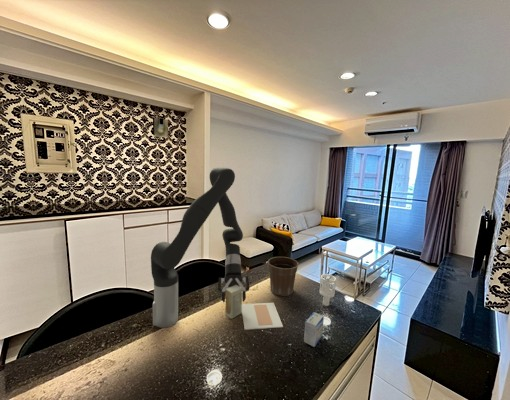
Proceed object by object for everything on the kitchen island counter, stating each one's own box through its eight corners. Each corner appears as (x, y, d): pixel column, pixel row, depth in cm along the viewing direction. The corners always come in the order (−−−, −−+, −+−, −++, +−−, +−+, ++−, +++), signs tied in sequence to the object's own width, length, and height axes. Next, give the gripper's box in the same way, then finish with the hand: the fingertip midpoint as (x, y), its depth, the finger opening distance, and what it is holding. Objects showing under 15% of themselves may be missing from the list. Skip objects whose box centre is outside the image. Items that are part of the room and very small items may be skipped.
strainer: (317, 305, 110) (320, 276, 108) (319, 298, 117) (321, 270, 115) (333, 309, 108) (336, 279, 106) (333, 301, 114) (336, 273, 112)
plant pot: (260, 289, 123) (261, 260, 121) (279, 280, 134) (281, 254, 132) (282, 302, 112) (284, 271, 109) (302, 291, 122) (304, 263, 120)
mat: (244, 329, 91) (244, 328, 91) (240, 304, 108) (240, 303, 108) (283, 327, 94) (283, 326, 94) (273, 303, 111) (273, 302, 110)
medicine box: (314, 348, 84) (316, 326, 82) (303, 342, 86) (305, 321, 85) (322, 336, 90) (324, 316, 89) (311, 331, 93) (313, 311, 91)
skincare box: (235, 308, 105) (236, 284, 103) (241, 313, 102) (242, 287, 100) (224, 314, 100) (225, 288, 99) (230, 319, 97) (231, 292, 96)
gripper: (218, 262, 105) (217, 300, 95) (248, 262, 107) (251, 298, 98) (218, 268, 111) (217, 304, 101) (247, 268, 113) (248, 302, 103)
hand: (233, 301), depth 99 cm, fingers open, 8 cm apart
